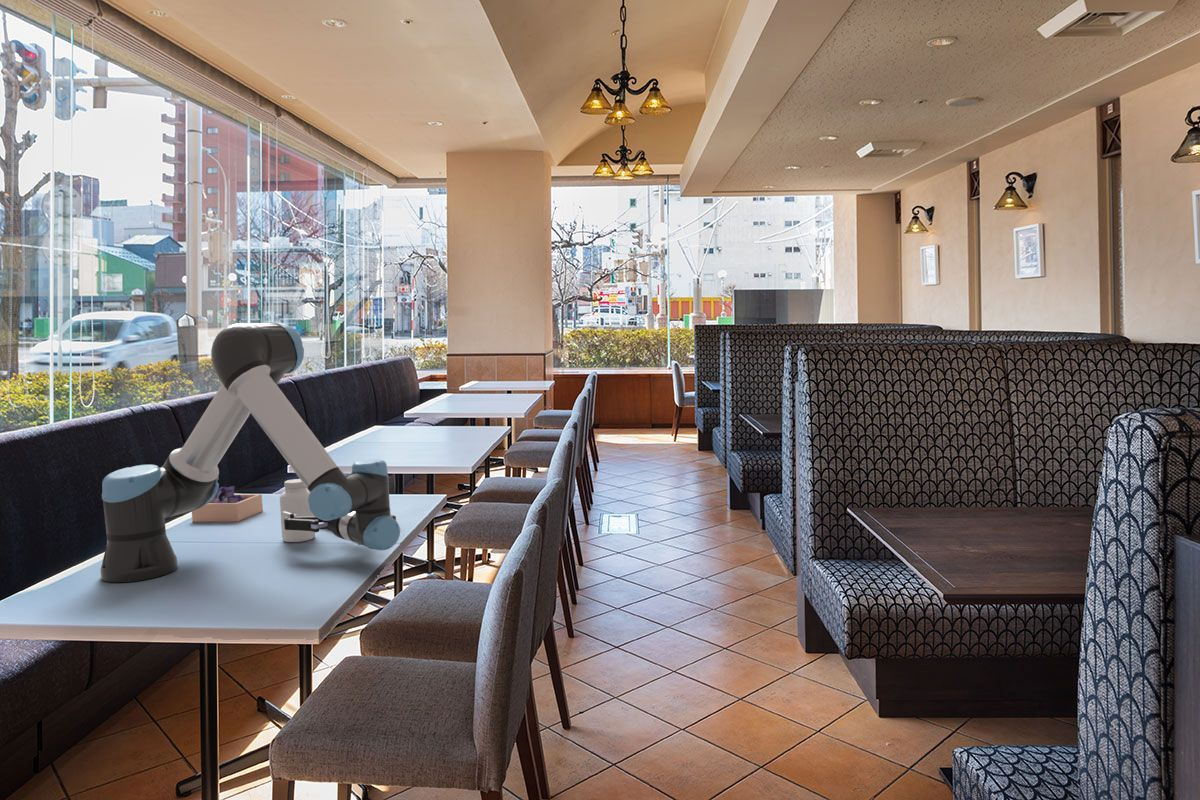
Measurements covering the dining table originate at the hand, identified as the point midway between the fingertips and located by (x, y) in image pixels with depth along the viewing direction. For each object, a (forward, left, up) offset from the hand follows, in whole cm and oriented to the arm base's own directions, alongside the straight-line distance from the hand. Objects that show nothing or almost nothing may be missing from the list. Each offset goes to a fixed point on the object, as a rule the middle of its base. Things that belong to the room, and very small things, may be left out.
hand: (310, 511), depth 212 cm
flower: (+30, +42, -8) cm, 52 cm away
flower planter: (+30, +41, -8) cm, 51 cm away
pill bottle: (+4, +6, -8) cm, 11 cm away
